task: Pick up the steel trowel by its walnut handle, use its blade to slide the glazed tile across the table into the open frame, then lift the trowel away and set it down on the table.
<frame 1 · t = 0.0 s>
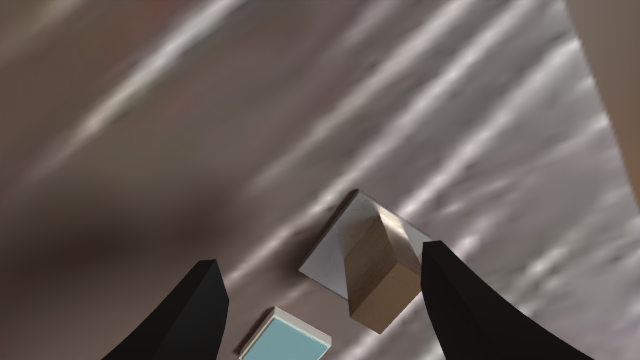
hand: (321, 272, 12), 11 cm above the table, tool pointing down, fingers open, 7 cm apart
trowel: (362, 249, 24), on the table
tile: (286, 338, 27), on the table
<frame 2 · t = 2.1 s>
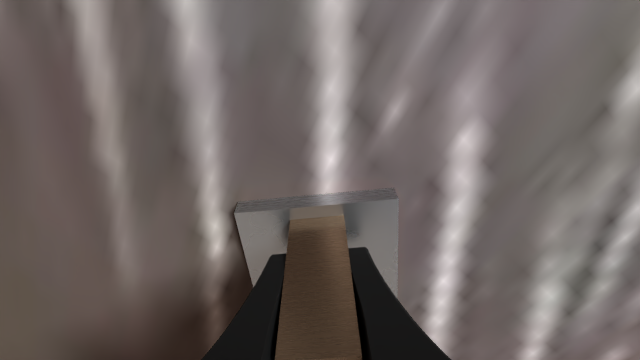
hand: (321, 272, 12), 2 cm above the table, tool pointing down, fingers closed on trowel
trowel: (323, 263, 15), on the table, touching gripper
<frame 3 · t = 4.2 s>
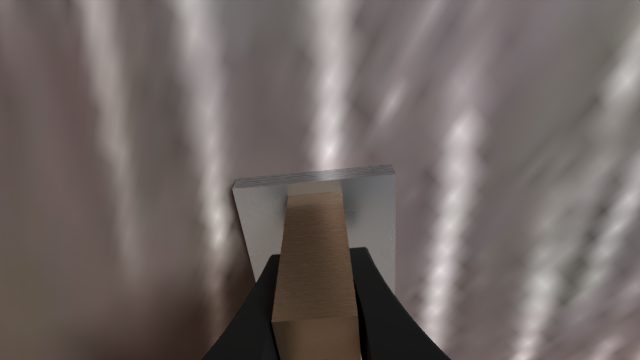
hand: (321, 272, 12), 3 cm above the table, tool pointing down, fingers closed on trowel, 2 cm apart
trowel: (322, 242, 15), on the table, touching gripper
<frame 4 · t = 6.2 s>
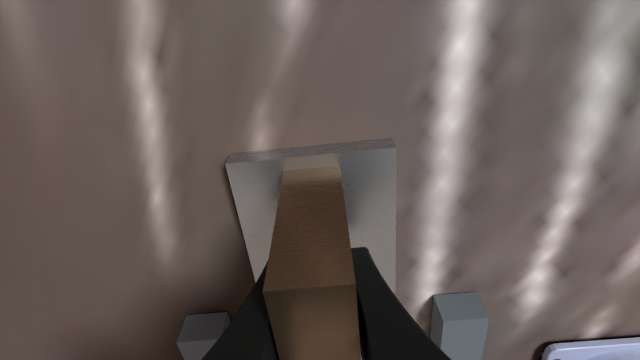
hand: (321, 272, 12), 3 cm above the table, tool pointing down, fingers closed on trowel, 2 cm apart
trowel: (319, 223, 14), on the table, touching gripper
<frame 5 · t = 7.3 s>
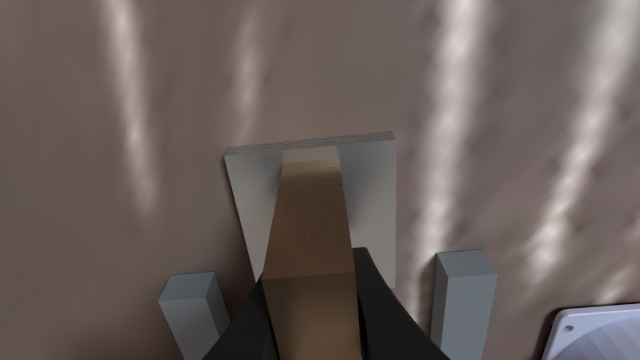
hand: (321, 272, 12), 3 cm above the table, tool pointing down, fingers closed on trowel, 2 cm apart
trowel: (319, 217, 14), on the table, touching gripper
tile frame: (332, 329, 18), on the table
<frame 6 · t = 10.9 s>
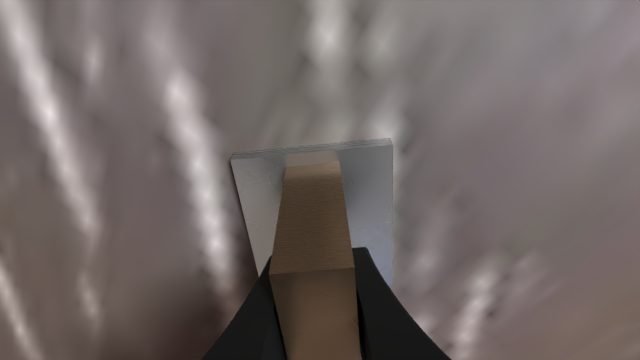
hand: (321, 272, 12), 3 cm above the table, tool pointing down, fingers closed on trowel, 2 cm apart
trowel: (320, 218, 15), on the table, touching gripper
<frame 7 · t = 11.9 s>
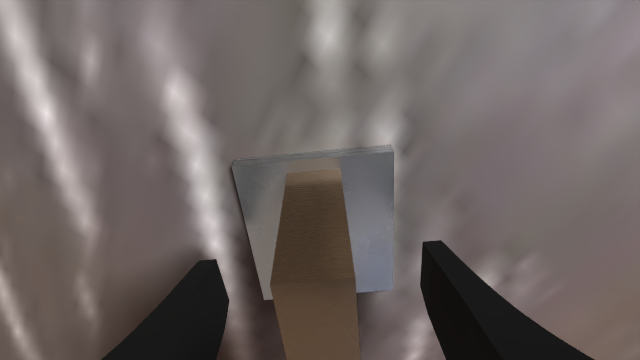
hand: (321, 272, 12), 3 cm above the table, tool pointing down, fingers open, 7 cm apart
trowel: (320, 223, 15), on the table
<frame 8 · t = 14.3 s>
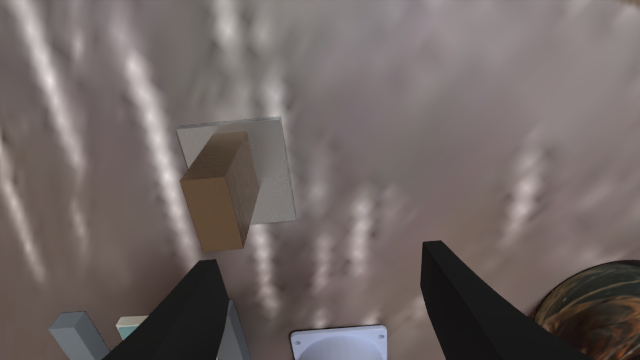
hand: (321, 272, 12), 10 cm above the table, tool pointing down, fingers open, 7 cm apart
trowel: (242, 172, 22), on the table
tile frame: (163, 343, 30), on the table
tile: (162, 330, 30), on the table
jar: (601, 311, 29), on the table
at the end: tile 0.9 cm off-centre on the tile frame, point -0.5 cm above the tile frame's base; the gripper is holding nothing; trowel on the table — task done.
